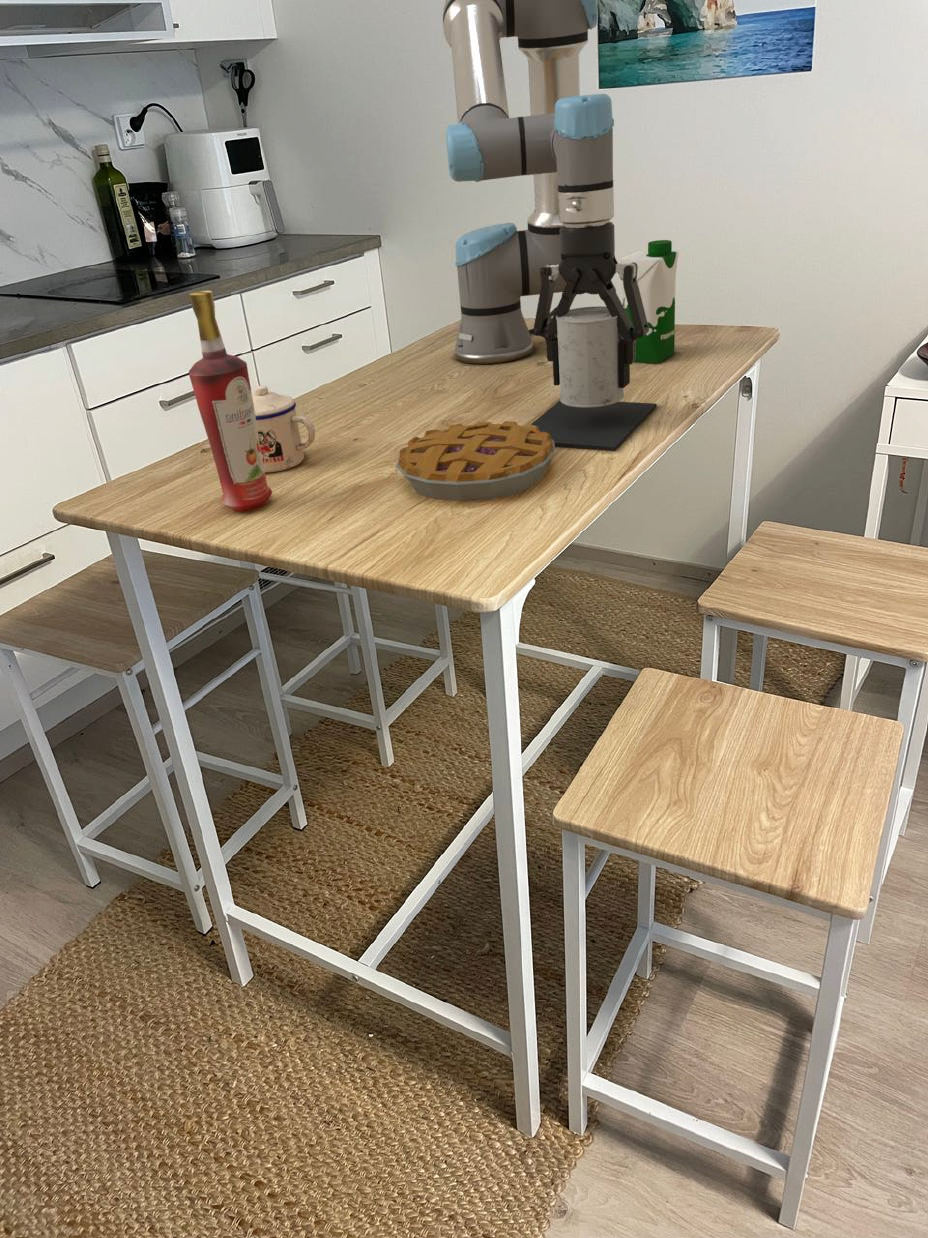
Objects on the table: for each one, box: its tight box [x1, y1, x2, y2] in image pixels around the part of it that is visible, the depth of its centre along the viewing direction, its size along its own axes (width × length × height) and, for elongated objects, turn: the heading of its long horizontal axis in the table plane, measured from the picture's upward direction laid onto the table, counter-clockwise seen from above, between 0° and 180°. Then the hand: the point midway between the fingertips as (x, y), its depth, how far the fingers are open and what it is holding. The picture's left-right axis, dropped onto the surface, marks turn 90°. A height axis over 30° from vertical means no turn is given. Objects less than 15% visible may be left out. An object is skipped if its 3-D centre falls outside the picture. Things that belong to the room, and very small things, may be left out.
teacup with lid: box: [252, 385, 316, 473], centre depth 139 cm, size 12×9×12 cm
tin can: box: [556, 305, 625, 408], centre depth 138 cm, size 10×10×12 cm
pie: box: [395, 420, 556, 502], centre depth 129 cm, size 22×22×5 cm
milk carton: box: [618, 239, 680, 364], centre depth 168 cm, size 9×9×20 cm
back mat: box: [529, 400, 658, 452], centre depth 144 cm, size 20×16×1 cm
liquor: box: [188, 290, 273, 513], centre depth 122 cm, size 7×7×28 cm
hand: (591, 383), depth 140 cm, fingers closed on tin can, 9 cm apart
